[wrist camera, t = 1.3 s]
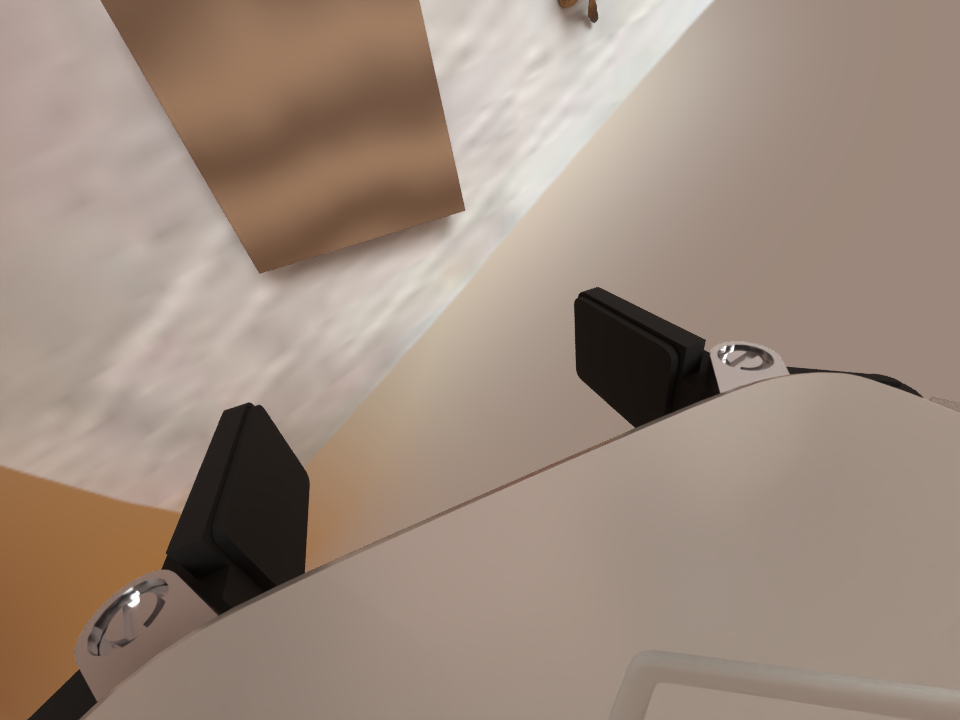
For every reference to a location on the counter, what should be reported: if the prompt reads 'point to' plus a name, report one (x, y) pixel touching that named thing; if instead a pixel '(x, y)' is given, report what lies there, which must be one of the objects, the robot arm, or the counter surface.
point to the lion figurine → (570, 0)
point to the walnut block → (301, 115)
